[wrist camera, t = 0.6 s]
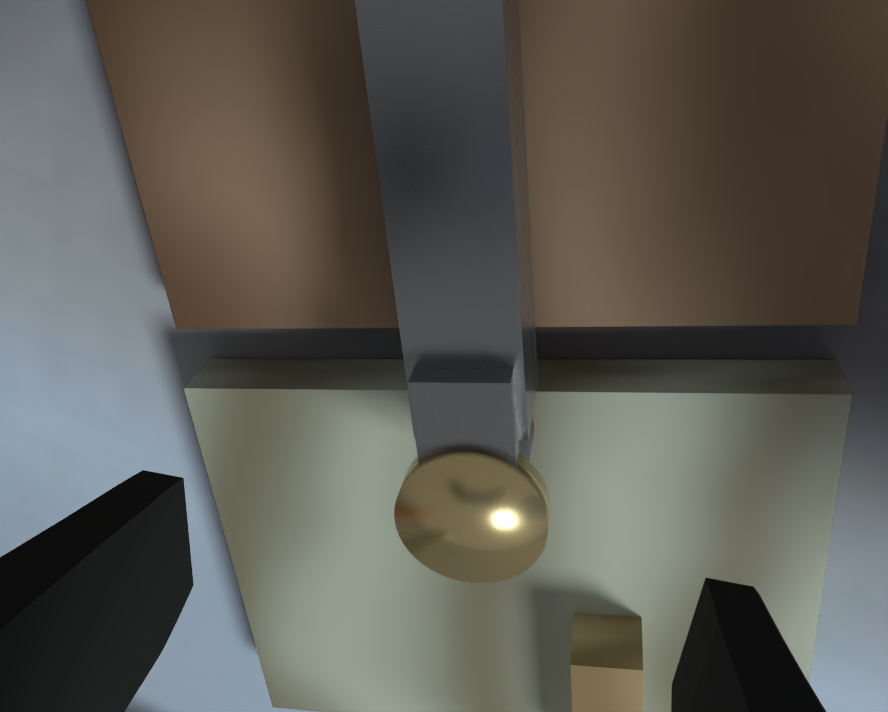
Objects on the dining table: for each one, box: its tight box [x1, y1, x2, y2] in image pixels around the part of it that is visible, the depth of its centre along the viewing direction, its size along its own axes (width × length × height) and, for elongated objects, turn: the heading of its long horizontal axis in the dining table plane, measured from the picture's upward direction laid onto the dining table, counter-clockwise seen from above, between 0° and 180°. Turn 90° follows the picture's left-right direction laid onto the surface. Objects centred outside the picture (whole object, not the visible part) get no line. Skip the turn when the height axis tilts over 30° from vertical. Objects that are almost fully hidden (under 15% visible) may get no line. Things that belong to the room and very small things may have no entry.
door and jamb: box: [86, 0, 888, 712], centre depth 19 cm, size 16×28×4 cm, turn 6°
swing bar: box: [355, 0, 551, 583], centre depth 16 cm, size 14×3×3 cm, turn 6°
